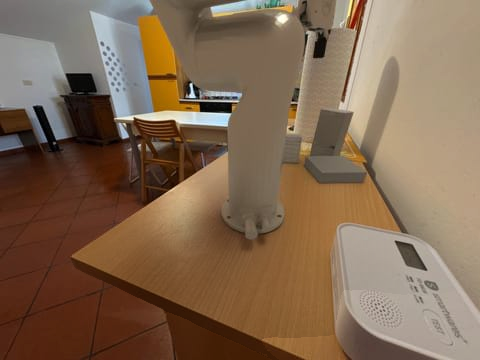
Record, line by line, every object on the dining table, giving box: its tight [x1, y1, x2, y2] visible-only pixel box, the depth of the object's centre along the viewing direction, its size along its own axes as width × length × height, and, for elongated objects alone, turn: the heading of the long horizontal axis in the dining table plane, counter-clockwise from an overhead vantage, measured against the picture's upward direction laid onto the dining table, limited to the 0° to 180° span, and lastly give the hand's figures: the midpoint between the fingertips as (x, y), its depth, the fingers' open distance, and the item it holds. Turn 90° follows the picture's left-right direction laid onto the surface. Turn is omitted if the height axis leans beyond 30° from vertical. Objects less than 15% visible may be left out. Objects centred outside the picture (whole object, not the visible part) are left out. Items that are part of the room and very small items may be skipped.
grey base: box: [303, 155, 368, 184], centre depth 56 cm, size 12×12×3 cm
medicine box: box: [283, 132, 303, 164], centre depth 63 cm, size 8×4×9 cm, turn 84°
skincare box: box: [309, 107, 354, 156], centre depth 65 cm, size 8×7×16 cm
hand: (308, 57), depth 51 cm, fingers open, 9 cm apart
